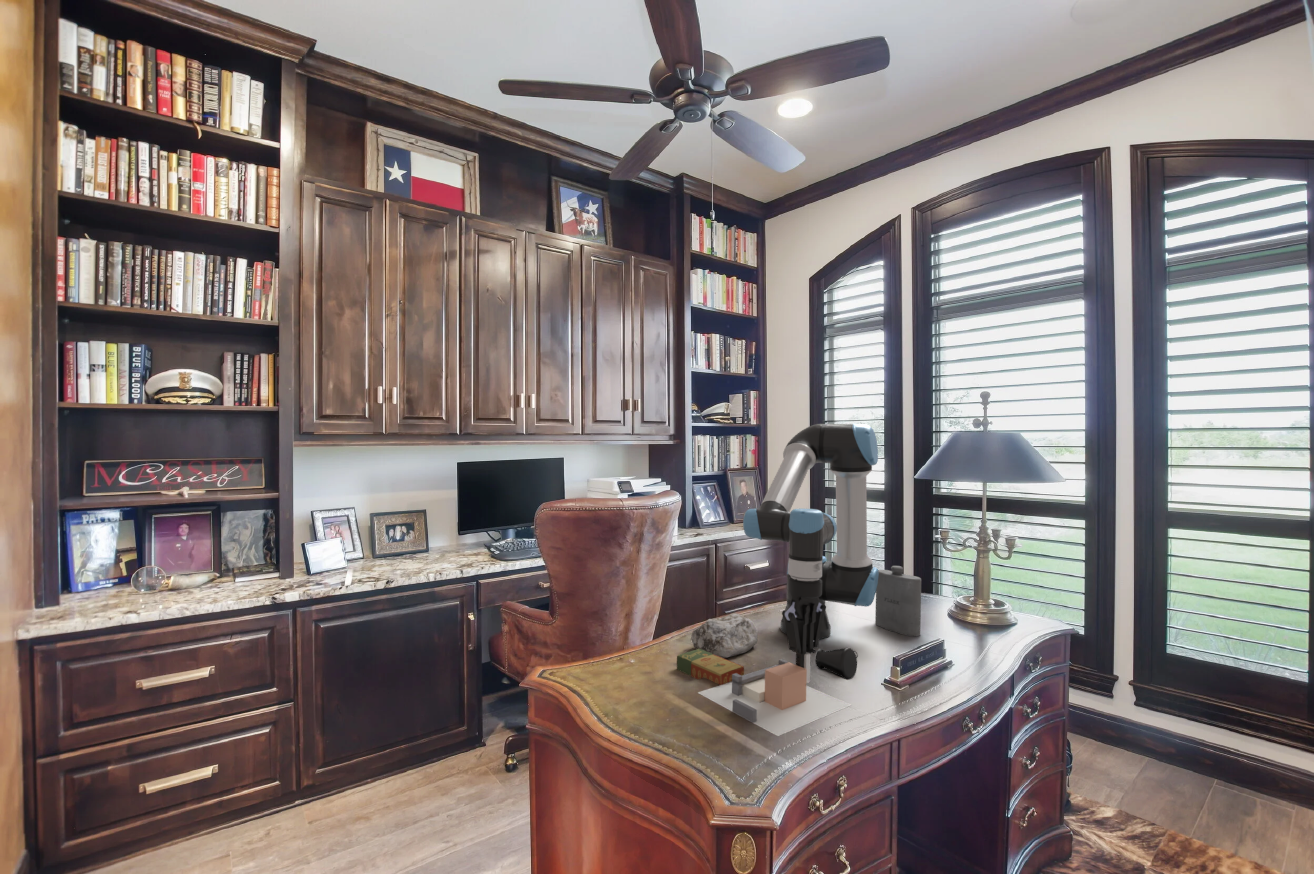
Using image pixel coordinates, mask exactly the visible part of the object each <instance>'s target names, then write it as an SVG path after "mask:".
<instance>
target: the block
mask: <svg viewBox="0 0 1314 874" xmlns="http://www.w3.org/2000/svg"><path fill="white" fill-rule="evenodd" d="M806 680H807V669H805V668H802V667H800V666H797V665H796V663H795V664H794V663H792V662H788V663H785V664H782V665H779V666H776V667H773V668H769V669H766V670H765V702H767V703H769V704H771V705H773V706H775V707H777V708H779V709H781V710H783V709H786V708H789V707H791V706H794V705H796V704H799V703H802V702H804V701H806V686H807V684H806Z"/></svg>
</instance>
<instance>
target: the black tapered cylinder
mask: <svg viewBox="0 0 1314 874" xmlns="http://www.w3.org/2000/svg"><path fill="white" fill-rule="evenodd" d="M858 656H859V655H858V652H857V651H856V650H854V649H853V648H851V647H842V648H841V647H840V648H836V649H829V650H824V649H822V648H819V649H818V650H816V652H815V659H814V660H815V665H816V668H817V669H819V670H822V669H826V670H827V671H829V672H832V673H834V674H835V675H838V676H839V677H841V678H844V679H846V680H850V679H852V678H854V676H855V675H856V673H857V669H858Z"/></svg>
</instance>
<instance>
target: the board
mask: <svg viewBox="0 0 1314 874" xmlns="http://www.w3.org/2000/svg"><path fill="white" fill-rule="evenodd" d="M788 662H789V661H788V660H785V659H783V658H780V659H778V664H775V665H772V666H768V667H765V668H761V669H759V670H755V671H752V672H749V673H746V674H745V673H744V675H742V676H741V675H739V674H737V673H735V674H732V681H731V682H729V683H726V684H723V685H718V686H714V687H710V688H707V689H704V690H701V691H698V692H697V694H699V695H701V696H703V697H704V698H706V699H708V700H710V701H711V702H713V703H715V704H717V705H718V706H721V707H723V708H725V709H727V711H730V712H732V713H734V714H736V715H737V716H739V717H741V718H743V719H744V720H746V721H749V722H750V723H752V724H754V725H756V726H757V727H760V728H761V729H764V730H765V731H767V732H769V733H771V734H773V735H774V736H776V737H780V736H782V735H784V734H787V733H789V732H792V731H794V730H798V729H799V728H802V727H804V726H806V725H808V724H810V723H813V722H815V721H817V720H821V719H822V718H825V717H827V716H830V715H832V714H834V713H836V712H838V711H839V712H840V711H841V710H844V709H846V708H848V707H851V706H852V704H850V703H848V702H846V701H844V700H841V699H839V698H836V697H834V696H832V695H829V694H827V693H825V692H823V691H820V690H818V689H816V688H813V687H811V686H809V685H806V701H804V702H802V703H799V704H796V705H794V706H791V707H789V708H786V709H783V710H781V709H779V708H777V707H775V706H773V705H771V704H769V703H767V702H765V670H766V669H769V668H773V667H776V666H779V665H782V664H785V663H788Z"/></svg>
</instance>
